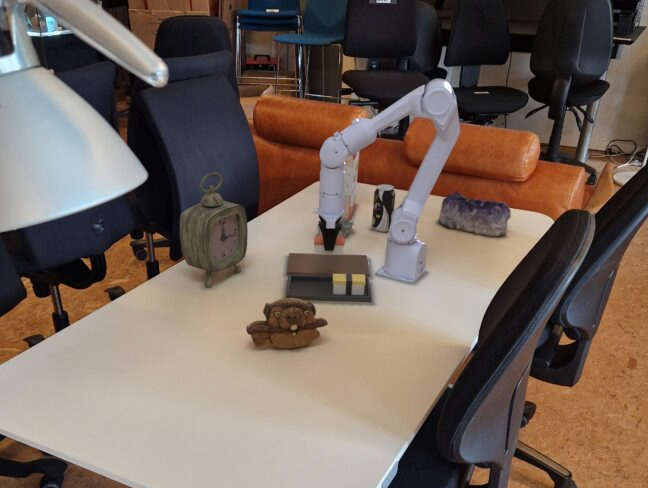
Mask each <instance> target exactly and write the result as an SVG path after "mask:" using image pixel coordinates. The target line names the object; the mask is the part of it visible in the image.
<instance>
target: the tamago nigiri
mask: <svg viewBox="0 0 648 488" xmlns="http://www.w3.org/2000/svg"><path fill="white" fill-rule="evenodd" d="M365 283H366V281H365V275H364V274H351V273H346V274H333V294H345V295H364V285H365Z"/></svg>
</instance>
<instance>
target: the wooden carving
mask: <svg viewBox="0 0 648 488" xmlns="http://www.w3.org/2000/svg"><path fill="white" fill-rule="evenodd" d="M262 314H263V315H264V317H265V320H254V321H252V322H251V323H249V324H247V325H246V327H245V328H246V333H247V335H250V337H251V339H252V342H253V345H254V347H256V348H261V347H262V348H263V347H264V346H267V345H271V346H272V347H275V348H278V349H294V348H299V347H303V346H306V345H308V344H311V343H312V342H313V341H315V340H317V339H318V338H319V337H320V336H321V334H320V332H319V330H318V329H319V328H324V327H326V326H328V324H329V323H328V321H327V320H326V319H325V318H323V317H317V318H316V316H317V309H316V306H315V304H314V303H313V301H304V300H301V299H295V298H286V297H284V298H280V299H277V300H275V301H273V302H271V303H269V302H266V303H265V305H264V307H263V310H262Z"/></svg>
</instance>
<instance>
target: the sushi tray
mask: <svg viewBox="0 0 648 488" xmlns="http://www.w3.org/2000/svg"><path fill="white" fill-rule="evenodd" d="M365 281H366V283H365V285H364V295H345V294H333V276H314V275H287V283H286V292H285V293H286V294H285V298H295V299H301V300H304V301H306V302H308V301H312V302H339V303H346V302H347V303H372V290H371V283H370V278H369V277H365Z"/></svg>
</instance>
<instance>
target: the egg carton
mask: <svg viewBox="0 0 648 488" xmlns="http://www.w3.org/2000/svg"><path fill="white" fill-rule="evenodd" d="M339 223H342V228H341V230H340V231H339V233H338V236H337V237H344V238H346V237H347V235H348V234H352V233H353V226H355V225H354V224H355V221H354V220H352V221H350V219H345V218H341V220H340V221H339ZM318 224H319V223H317V224H316V230H317V236H322V233H321V230H320V228H319V225H318Z"/></svg>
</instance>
